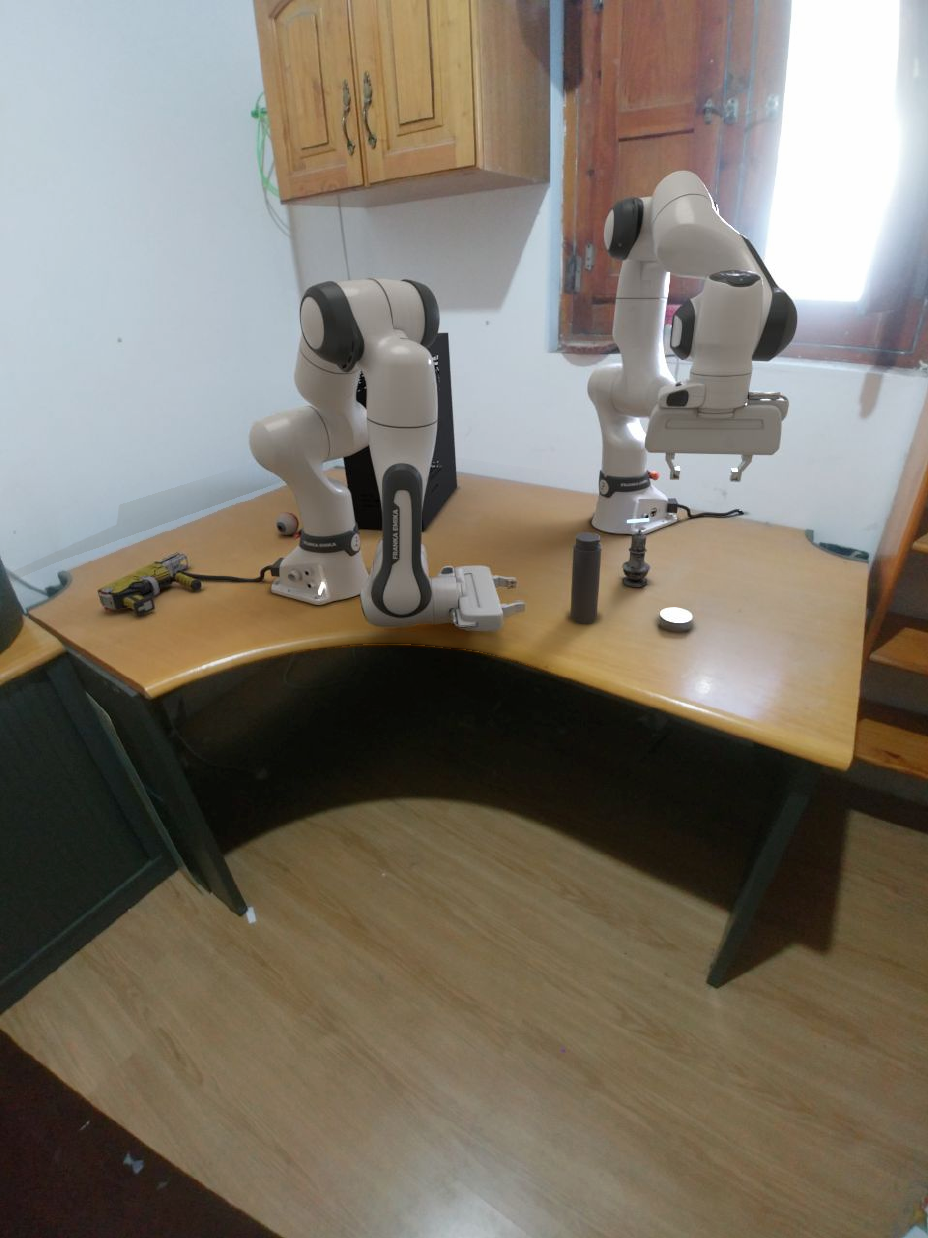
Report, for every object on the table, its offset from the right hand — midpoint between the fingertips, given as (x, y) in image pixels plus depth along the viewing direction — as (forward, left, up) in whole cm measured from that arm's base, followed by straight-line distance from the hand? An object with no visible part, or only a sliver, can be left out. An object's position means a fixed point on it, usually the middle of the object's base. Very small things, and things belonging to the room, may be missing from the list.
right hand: (704, 479), depth 100 cm
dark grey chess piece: (-4, -19, -28) cm, 34 cm away
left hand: (+26, -16, -22) cm, 38 cm away
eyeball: (+57, -89, -28) cm, 109 cm away
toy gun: (+89, -68, -28) cm, 115 cm away
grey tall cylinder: (+14, -12, -28) cm, 34 cm away
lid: (+1, -1, -26) cm, 26 cm away
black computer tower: (+21, -92, -28) cm, 98 cm away
